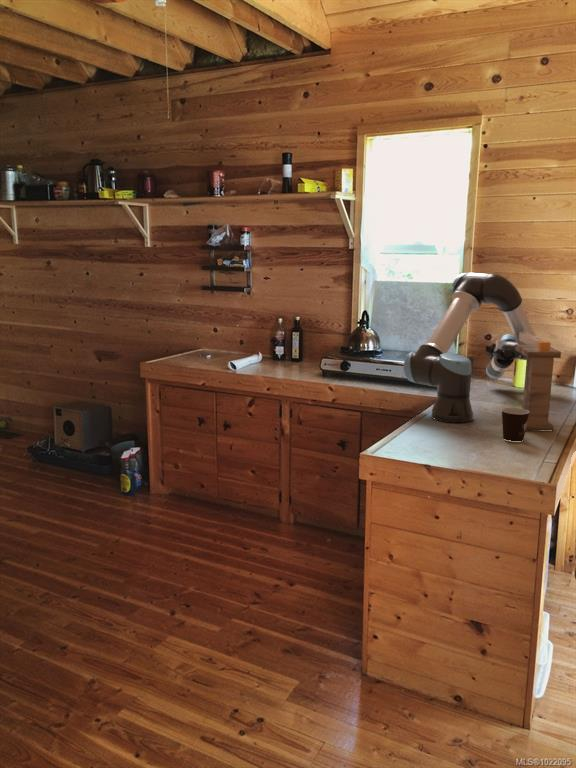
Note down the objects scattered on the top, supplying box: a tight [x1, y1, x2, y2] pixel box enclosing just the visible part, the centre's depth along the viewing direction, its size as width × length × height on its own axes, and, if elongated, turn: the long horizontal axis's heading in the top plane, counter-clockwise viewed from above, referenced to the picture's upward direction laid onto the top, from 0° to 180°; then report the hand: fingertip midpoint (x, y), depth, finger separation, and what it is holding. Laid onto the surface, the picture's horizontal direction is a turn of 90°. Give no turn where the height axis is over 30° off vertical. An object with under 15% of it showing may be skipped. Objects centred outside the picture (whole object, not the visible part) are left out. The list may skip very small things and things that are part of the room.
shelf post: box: [515, 344, 562, 432], centre depth 233 cm, size 16×11×28 cm
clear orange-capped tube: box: [519, 332, 552, 352], centre depth 234 cm, size 26×4×3 cm, turn 176°
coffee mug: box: [501, 407, 529, 441], centre depth 218 cm, size 12×9×10 cm
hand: (516, 342), depth 256 cm, fingers open, 13 cm apart
